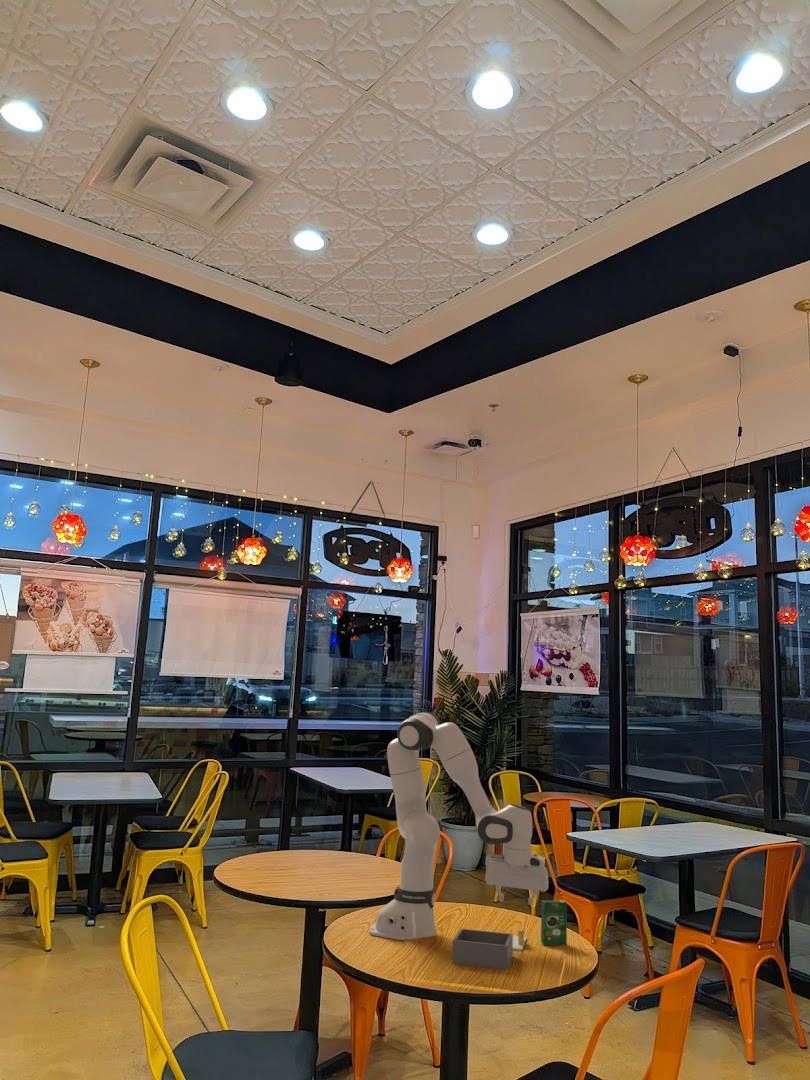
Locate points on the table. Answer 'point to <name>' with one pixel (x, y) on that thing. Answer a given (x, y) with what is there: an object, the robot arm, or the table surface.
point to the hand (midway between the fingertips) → (515, 902)
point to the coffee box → (554, 923)
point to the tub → (483, 949)
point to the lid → (519, 940)
